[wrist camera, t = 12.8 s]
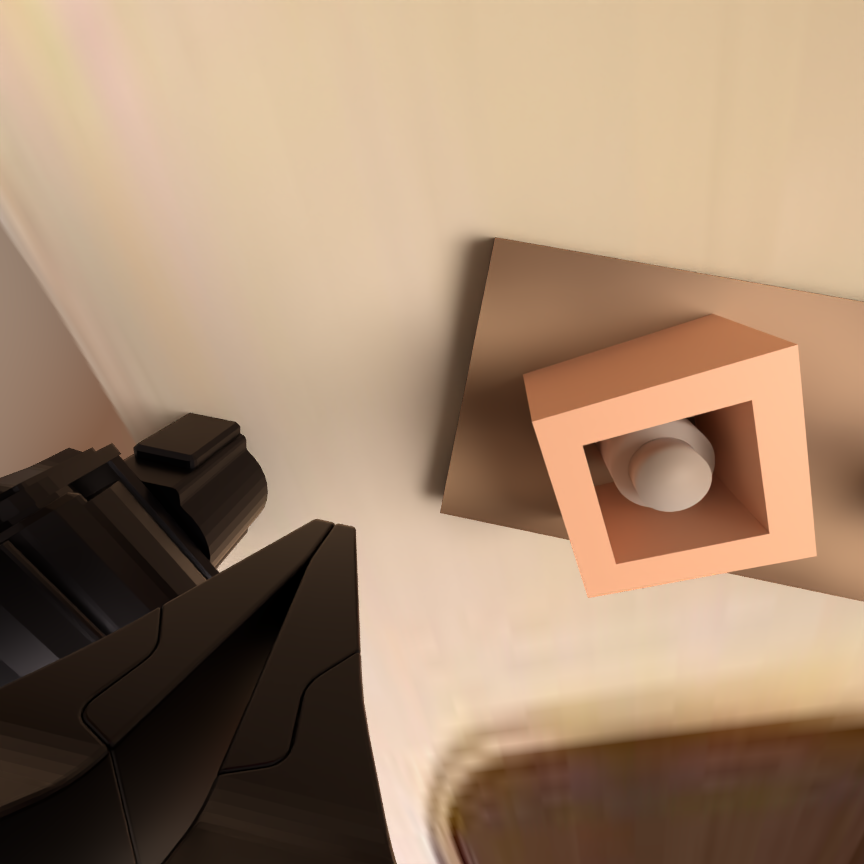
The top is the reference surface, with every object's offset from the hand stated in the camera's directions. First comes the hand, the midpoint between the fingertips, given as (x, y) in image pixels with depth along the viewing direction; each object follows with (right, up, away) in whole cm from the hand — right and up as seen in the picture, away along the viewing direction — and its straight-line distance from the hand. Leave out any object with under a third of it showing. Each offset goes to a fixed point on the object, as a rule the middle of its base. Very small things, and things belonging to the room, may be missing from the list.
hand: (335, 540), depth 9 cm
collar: (+10, +2, +9) cm, 14 cm away
